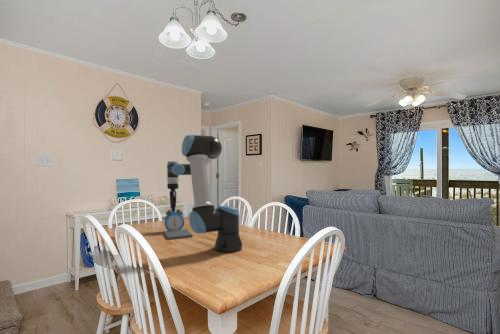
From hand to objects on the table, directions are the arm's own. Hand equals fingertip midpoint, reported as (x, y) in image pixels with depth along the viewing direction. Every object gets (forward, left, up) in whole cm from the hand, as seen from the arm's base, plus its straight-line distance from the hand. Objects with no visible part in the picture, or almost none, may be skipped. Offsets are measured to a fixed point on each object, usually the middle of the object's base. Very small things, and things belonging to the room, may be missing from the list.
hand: (173, 216), depth 195 cm
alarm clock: (-5, 0, -10) cm, 11 cm away
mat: (-17, 0, -10) cm, 20 cm away
